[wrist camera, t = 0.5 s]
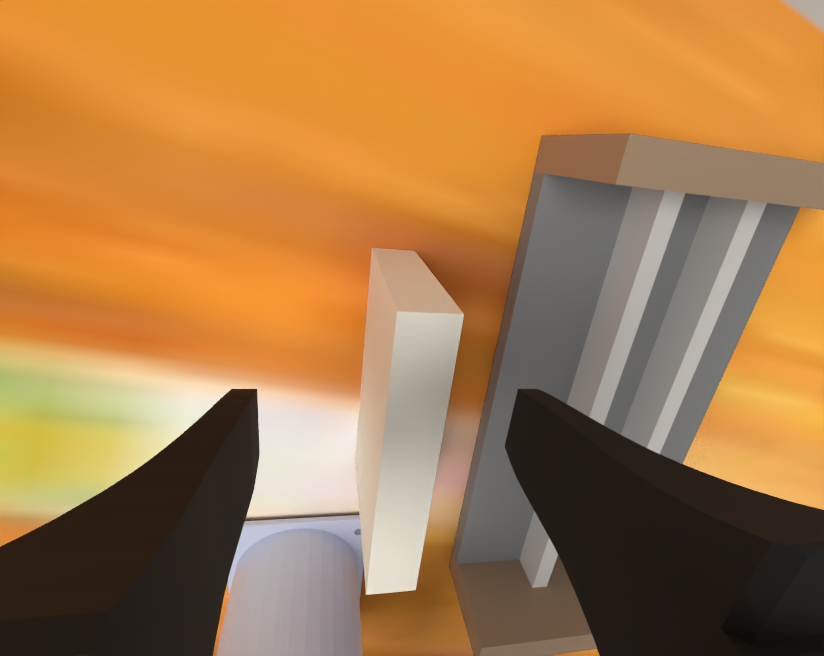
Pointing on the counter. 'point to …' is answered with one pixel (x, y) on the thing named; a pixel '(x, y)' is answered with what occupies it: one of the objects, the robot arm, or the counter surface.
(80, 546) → the robot arm
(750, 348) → the counter surface
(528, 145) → the counter surface
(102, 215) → the counter surface
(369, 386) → the door panel
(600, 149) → the cabinet base
